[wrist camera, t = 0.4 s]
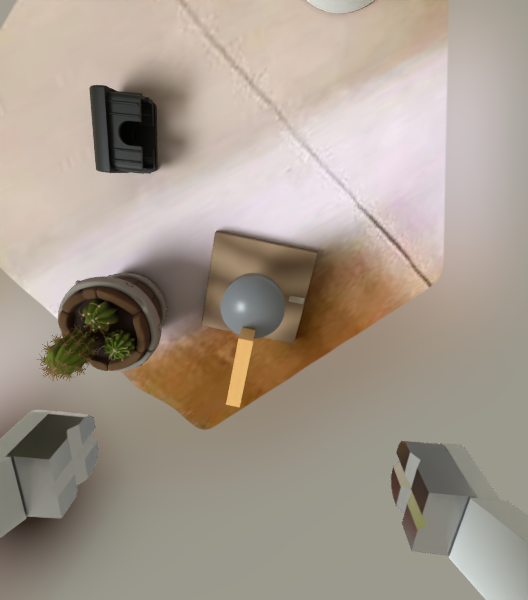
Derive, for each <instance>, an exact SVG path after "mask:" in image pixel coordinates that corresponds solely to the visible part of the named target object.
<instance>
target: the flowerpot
mask: <svg viewBox="0 0 528 600" xmlns="http://www.w3.org/2000/svg"><path fill="white" fill-rule="evenodd" d="M166 311H167V307H166V303H165V300H164V297H163V295H162V293H161V292H160V290H159V289H158V288H157V286H156V285H155V284H154V283H153V282H151V281H150V280H149V279H148V278H147V277H143V276H141V275H137V274H132V273H122V274H114V275H109V276H108V277H94V278H89V279H85V280H82V281H76V285H75V286H73V287H72V288H71V289H70V290H69V291H68V292H67V294H66V295H65V297H64V298H63V300H62V302H61V304H60V307H59V312H58V323H59V326H60V330H61V333H62V336H63V338H62V339H61V338H57V337H56V338H57V339H56V338H55V340H54V341H55V344H54V345H53V346H51V347H49V346H48V345H47V346H48V347H47V350H48V351H47V357H46V358H45V357H44V359H43V361H42V362H44V363H45V362H46V363H45V364H47V367H49V368H48V369H47V367H46V369H45V368H44V369H43V370H44V371H45V370H47V372H48V371H50V373H49V372H48V373H47V375H49V374H52V378H53V380H54V376H55V375H56V377H57V375H59V374H62V375H68V377H70V375H71V374H72V373H73V372H76V371H77V375H78V372H80V371H81V373H82V371H83V370H82V369H81V368H82V365H84V363H87V364H88V365H89V364H90V365H91V366H93V367H95V368H97V369H100V370H104V371H108V370H110V371H123V370H129V369H133V368H135V367H137V366H142V364H143V363H144V362H145V361H147V360H148V359H149V357H150V356H151V355H152V354H153V352H154V351H155V349H156V348H157V346H158V344H159V341H160V337H161V328H162V325H163V323H164V320H165V316H166ZM51 342H52V341H51ZM45 347H46V346H45ZM44 349H46V348H44ZM40 360H42V359H40ZM78 370H79V371H78ZM54 373H55V375H54ZM45 375H46V374H45ZM47 375H46V376H47ZM62 375H61V377H62ZM59 376H60V375H59ZM61 377H60V378H61ZM66 377H67V376H66ZM68 377H67V378H68ZM63 378H64V377H63ZM70 378H72V377H70Z"/></svg>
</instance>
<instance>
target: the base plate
mask: <svg viewBox="0 0 528 600" xmlns="http://www.w3.org/2000/svg"><path fill="white" fill-rule="evenodd" d="M316 257H317V252H316V251H311V250H306V249H301V248H296V247H292V246H287V245H282V244H277V243H272V242H268V241H263V240H258V239H253V238H248V237H244V236H239V235H234V234H229V233H224V232H220V231H216V232H215V237H214V244H213V251H212V257H211V264H210V271H209V278H208V285H207V292H206V299H205V306H204V313H203V320H202V326H207V327H212V328H217V329H222V330H227V331H232V330H230V329H229V328H228V326H227V325H226V324H225V322H224V320H223V318H222V315H221V301H222V298H223V295H224V293H225V291H226V289H227V287H228V286H229V284H230V283H231V282H232V281H233V280H234V279H236V278H237V277H239V276H241V275H243V274H247V273H260V274H263V275H266V276H268V277H270V278H272V279H273V280H274V281H275V282H276V283H277V284H278V285H279V286H280V288H281V290H282V292H283V295H284V317H283V320H282V322H281V324H280V326H279V327H278V328H277V329H276V330H275V331H274V332H273V333H271V334H269V335H267V336H265V337H262V338H266V339H271V340H276V341H281V342H286V343H291V344H294V342H295V338H296V334H297V330H298V326H299V323H300V319H301V315H302V311H303V307H304V303H305V299H306V296H307V292H308V288H309V284H310V280H311V276H312V272H313V269H314V265H315V261H316ZM232 332H233V331H232Z"/></svg>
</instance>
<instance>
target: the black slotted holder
mask: <svg viewBox="0 0 528 600" xmlns="http://www.w3.org/2000/svg"><path fill="white" fill-rule="evenodd" d="M90 100H91V112H92V125H93V137H94V150H95V162H96V170H97V171H101V172H108V173H129V172H133V173H143V174H144V173H151V172H154V171H156V170H157V168H158V163H157V109H156V105H155V104H154V103H153V102H152V100H150V99H149V98H148V97H144V96H143V95H142V94H140V93H129V92H119V91H116V90H113V89H111V88H109V87H107V86H104V85H93V86H91V87H90Z"/></svg>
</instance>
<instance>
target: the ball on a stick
mask: <svg viewBox="0 0 528 600" xmlns="http://www.w3.org/2000/svg"><path fill="white" fill-rule="evenodd" d="M221 315H222V318H223V320H224V322H225V324H226V325H227V326H228V328H229V329H230V330H232V331H233V332H234V333H236V334H238V335H239V339H238V344H237V350H236V355H235V360H234V365H233V371H232V376H231V381H230V386H229V392H228V397H227V402H226V405H231V406H236V407H240V403H241V398H242V393H243V388H244V383H245V379H246V374H247V369H248V364H249V360H250V355H251V350H252V345H253V340H254V338H262V337H265V336H267V335H269V334H271V333H273V332H274V331H275V330H276V329H277V328H278V327H279V326H280V324H281V322H282V320H283V317H284V295H283V292H282V290H281V288H280V286H279V285H278V284H277V283H276V282H275V281H274V280H273V279H272V278H270V277H268V276H266V275H263V274H260V273H247V274H243V275H241V276H239V277H237V278H236V279H234V280H233V281H232V282H231V283H230V284H229V286H228V287H227V289H226V291H225V293H224V295H223V298H222V301H221Z"/></svg>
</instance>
